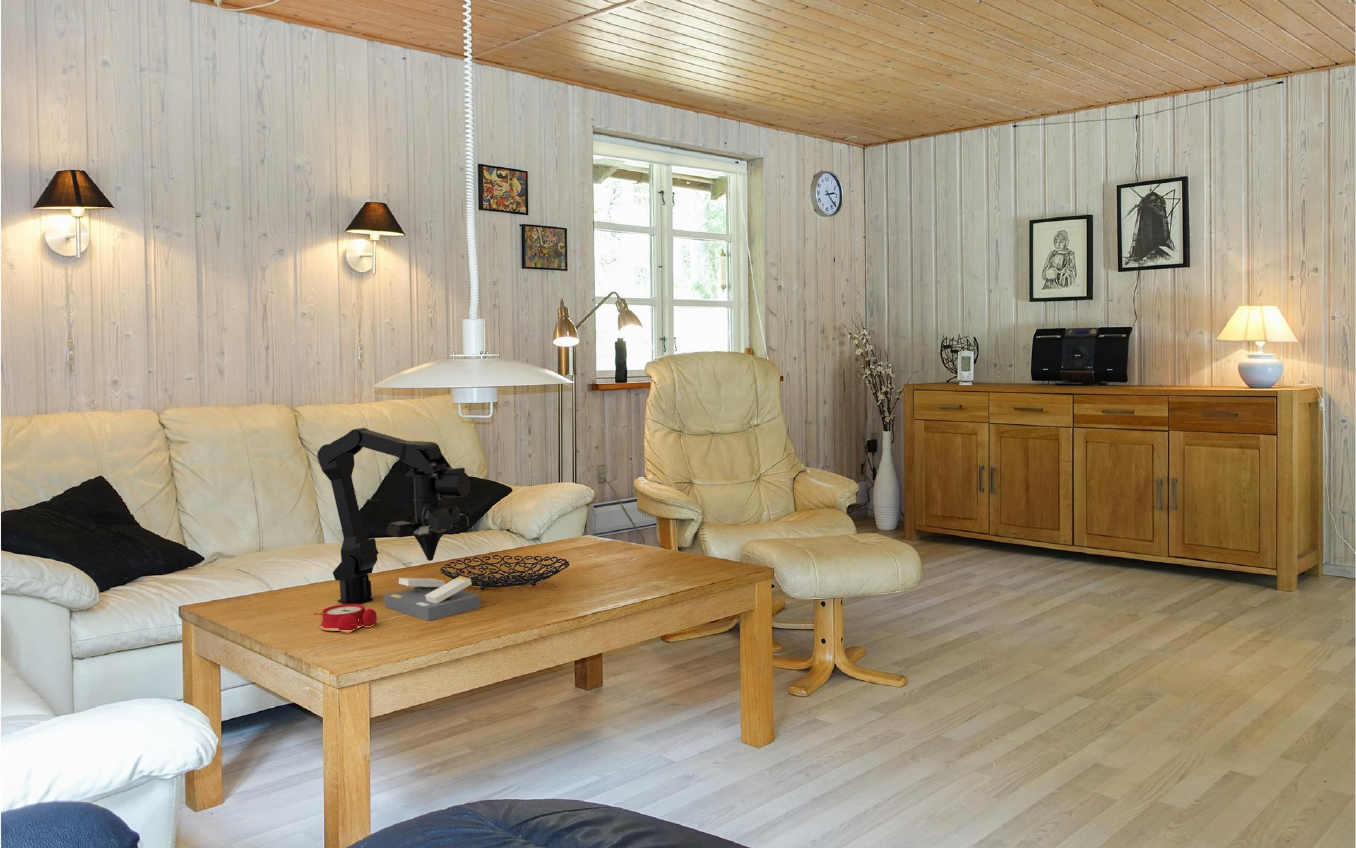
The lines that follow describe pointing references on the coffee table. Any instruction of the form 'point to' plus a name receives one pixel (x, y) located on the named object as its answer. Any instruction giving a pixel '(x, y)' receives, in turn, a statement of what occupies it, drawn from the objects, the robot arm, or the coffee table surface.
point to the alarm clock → (347, 616)
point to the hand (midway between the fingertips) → (430, 560)
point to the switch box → (431, 603)
